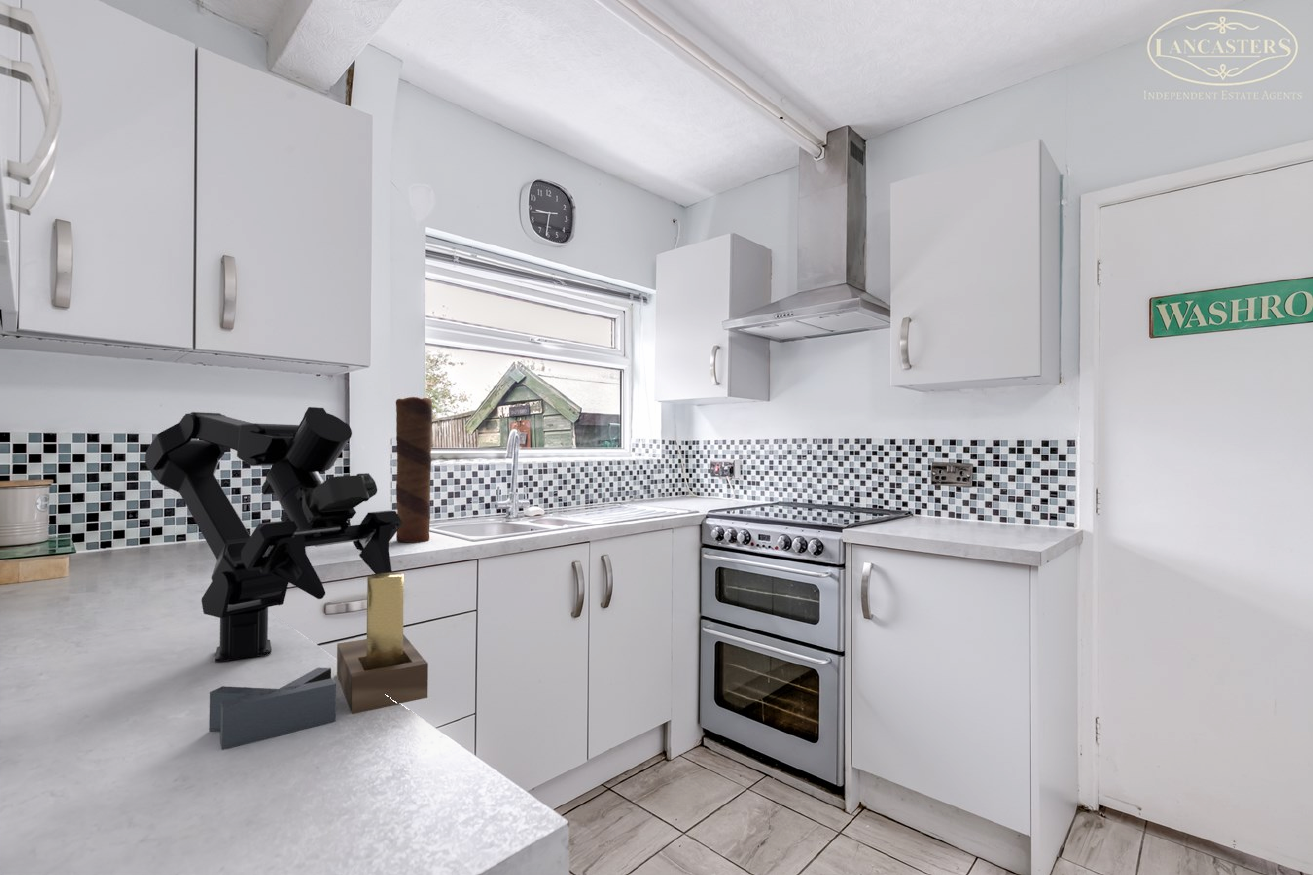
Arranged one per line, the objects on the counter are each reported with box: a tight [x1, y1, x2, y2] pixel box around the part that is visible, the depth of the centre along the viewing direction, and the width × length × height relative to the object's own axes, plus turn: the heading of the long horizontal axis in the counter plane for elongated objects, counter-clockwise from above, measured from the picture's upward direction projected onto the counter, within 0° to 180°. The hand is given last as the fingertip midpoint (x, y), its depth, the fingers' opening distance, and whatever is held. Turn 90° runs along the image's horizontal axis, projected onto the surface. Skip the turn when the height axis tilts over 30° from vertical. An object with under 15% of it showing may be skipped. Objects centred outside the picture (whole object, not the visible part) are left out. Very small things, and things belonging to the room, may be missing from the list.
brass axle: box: [366, 572, 405, 670], centre depth 74 cm, size 4×4×14 cm
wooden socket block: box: [336, 633, 429, 714], centre depth 77 cm, size 14×8×4 cm, turn 33°
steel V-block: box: [208, 667, 337, 750], centre depth 66 cm, size 7×11×4 cm, turn 129°
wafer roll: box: [395, 396, 433, 543], centre depth 196 cm, size 10×11×45 cm
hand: (357, 588), depth 77 cm, fingers open, 9 cm apart
